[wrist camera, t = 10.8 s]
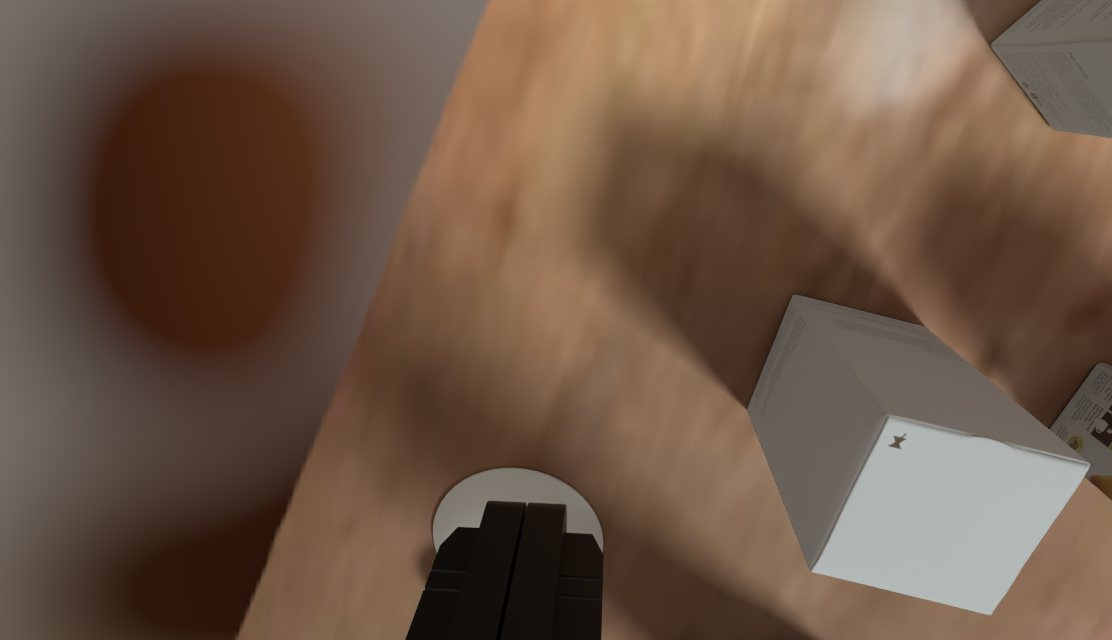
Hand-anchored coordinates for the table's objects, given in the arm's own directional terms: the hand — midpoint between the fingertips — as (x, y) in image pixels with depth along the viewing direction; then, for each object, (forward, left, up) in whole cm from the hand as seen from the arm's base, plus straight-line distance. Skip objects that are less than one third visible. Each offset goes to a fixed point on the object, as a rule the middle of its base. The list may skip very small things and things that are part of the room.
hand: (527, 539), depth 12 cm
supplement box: (-16, +10, -29) cm, 35 cm away
